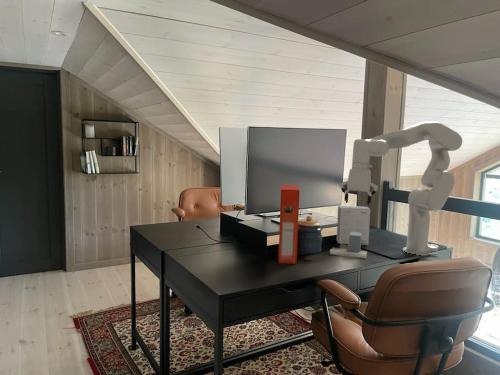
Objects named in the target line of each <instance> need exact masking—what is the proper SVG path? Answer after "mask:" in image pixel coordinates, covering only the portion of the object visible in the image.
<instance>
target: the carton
mask: <svg viewBox="0 0 500 375" xmlns="http://www.w3.org/2000/svg"><path fill="white" fill-rule="evenodd" d="M361 235H362V233H358V232H351V233H350V235H349V240H348V244H347V249H348V250H349V251H350V252H358V253H360V251H361V246H362V245H361Z"/></svg>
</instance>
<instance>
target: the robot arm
mask: <svg viewBox="0 0 500 375" xmlns="http://www.w3.org/2000/svg"><path fill="white" fill-rule="evenodd" d="M423 141H428V146H429V149H430V151H431V159H430V161H429V162H428V165H427V167H426V169H425V171H424V172H423V174H422V176H421V179H420V183H421V185H422V186H423V187H425V188H414V189H412V190H411V191H410V193H409V194H408V199H407V200H408V225H407V236H406V246H405V247H403V248H402V251H403V252H404V251H405V252H407V254H408V253H411V254H410V255H412V254H416V255H415V256H419V255H421V256H422V257H425V256H426V257H427V256H430V255H431V251H432V252H436V253H437V252H439V247H437V246H436V247H435V246H430V245H429V232H430V225H431V224H430V222H431V214H430V212H438V211H441V209H442V208H443V207H444V206H445V204H446V202H447V200H448V198H449V196H450V195H451V193H452V191H453V189H454V187H455V182H456V181H455V180H456V179H455V176H454V174H453V172H451V171H449V170H448V169H449V167H450V163H451V157H450V154H449V152H454V151H457V150H459V149H460V148H461V147H462V145H463V138H462V136H461V135H460V134H459V132H457V131H455V130H453V129H452V128H450V127H448V126H446V125H444V124H443V123H441V122H439V121H422V122H419V123H416V124H413V125H410V126H408V127H405V128H402V129H397V130H395V131H391V132H388V133H384V134H380V135H377V136H374V137H372V138H369V139H362V138H361V139H360V138H359V139H358V138H357V139H355V140H354V141H353V149H352V161H351V168H350V169H349V172H348V178H347V180H346V181H343V182H341V183H339V188H340V190H341V192H343V193H344V200H343V201H344V202H345V203H346V204H348V202H349V192H351V191H353V192H363V193H365V192H366V193H367V194H368V195H367V203H366V205H370V204H371V202H372V196H373V195H375V194H376V193H377V191H378V189H379V186H377V185H376V184H375V183H372V182H371V181H372V176H371V175H372V174H371V173H372V172H371V168H373V164H370V160H371V157H383V156H386V155H387V154H388V153H389V152H390V150H391V149H392V150H393V149H403V148H407V147H410V146H413V145H415V144H418V143H420V142H421V143H422V142H423ZM370 156H371V157H370ZM345 185H346V188H347V189H345ZM371 187H372V188H373V190H372V191H371ZM426 188H427V189H426ZM405 252H404V253H405Z"/></svg>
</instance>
